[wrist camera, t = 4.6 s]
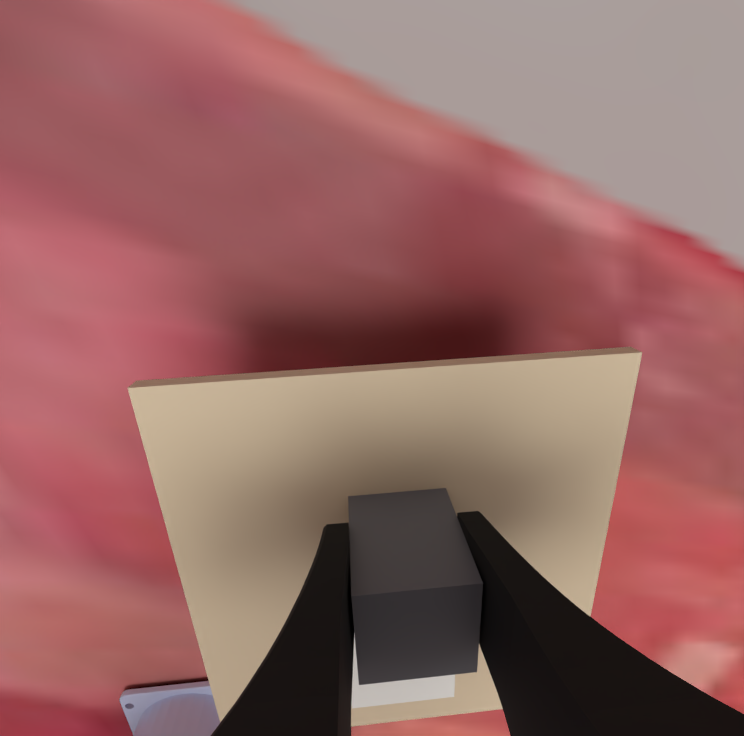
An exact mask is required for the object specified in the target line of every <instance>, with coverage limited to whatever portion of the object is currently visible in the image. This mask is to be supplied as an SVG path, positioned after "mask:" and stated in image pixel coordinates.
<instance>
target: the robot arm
mask: <svg viewBox="0 0 744 736" xmlns="http://www.w3.org/2000/svg"><path fill="white" fill-rule="evenodd" d="M457 518H458V520H459V523H460V526H461V528H462V531H463V533H464V536H465V538H466V541H467V544H468V546H469V549H470V551H471V554H472V556H473V559H474V561H475V564H476V567H477V569H478V572H479V574H480V577H481V579H482V582H483V591H482V606H481V621H480V636H479V645H480V647H481V650H482V653H483V655H484V658H485V661H486V663H487V666H488V669H489V671H490V674H491V677H492V679H493V682H494V685H495V687H496V690H497V693H498V696H499V699H500V702H501V705H502V708H503V711H504V714H505V717H506V721H507V724H508V728H509V731H510V735H511V736H744V714H742V713H740V712H739V711H737V710H735V709H733V708H731V707H729V706H728V705H726V704H724V703H722V702H720V701H718V700H716V699H715V698H713V697H711V696H709V695H708V694H706V693H704V692H702V691H701V690H699V689H697V688H696V687H694V686H692V685H691V684H689V683H687V682H686V681H684V680H682V679H681V678H679V677H677V676H676V675H674V674H672V673H671V672H669V671H668V670H666V669H664V668H663V667H661V666H660V665H658V664H657V663H655V662H654V661H652V660H650V659H649V658H647V657H646V656H645V655H643V654H642V653H640V652H639V651H637V650H636V649H634V648H633V647H631V646H630V645H628V644H627V643H625V642H624V641H622V640H621V639H620V638H618V637H617V636H615V635H614V634H613V633H611V632H610V631H608V630H607V629H606V628H604V627H603V626H602V625H600V624H599V623H598V622H596V621H595V620H594V619H593V618H591V617H590V616H589V615H587V614H586V613H585V612H584V611H582V610H581V609H580V608H579V607H577V606H576V605H575V604H574V603H572V602H571V601H570V600H569V599H568V598H567V597H565V596H564V595H563V594H562V593H561V592H560V591H559V590H557V589H556V588H555V587H554V586H553V585H552V584H551V583H550V582H548V581H547V580H546V579H545V578H544V577H543V576H542V575H541V574H540V573H539V572H538V571H537V570H536V569H535V568H534V567H533V566H531V565H530V564H529V563H528V562H527V561H526V560H525V559H524V558H523V557H522V556H521V555H520V554H519V553H518V552H517V551H516V550H515V549H514V548H513V547H512V546H511V545H510V544H509V542H508V541H507V540H506V539H505V538H504V537H503V536H502V535H501V534H500V533H499V532H498V531H497V530H496V529H495V528H494V527H493V525H492V524H491V523H490V522H489V521H488V520H487V519H486V518H485V517H484V516H483V514H482V513H480V512H479V511H471V512H460V513H457ZM353 653H354V621H353V609H352V598H351V570H350V540H349V522H348V523H336V524H327V525H326V526H325V527H324V528H323V532H322V536H321V539H320V543H319V546H318V549H317V552H316V555H315V558H314V560H313V563H312V566H311V568H310V570H309V573H308V575H307V577H306V580H305V582H304V585H303V587H302V589H301V591H300V594H299V596H298V598H297V600H296V602H295V604H294V606H293V608H292V610H291V612H290V614H289V616H288V618H287V620H286V622H285V624H284V625H283V627H282V629H281V631H280V633H279V635H278V636H277V638H276V640H275V642H274V643H273V645H272V647H271V648H270V650H269V652H268V653H267V655H266V657H265V658H264V660H263V662H262V663H261V665H260V666H259V668H258V669H257V671H256V672H255V674H254V675H253V677H252V679H251V680H250V682H249V683H248V685H247V686H246V688H245V689H244V691H243V692H242V694H241V695H240V696H239V698H238V699H237V701H236V702H235V704H234V705H233V706H232V708H231V709H230V710H229V712H228V713H227V714H226V716H225V717H224V718H223V720H222V721H221V722H220V720H219V716H218V713H217V709H216V705H215V702H214V698H213V695H212V691H211V687H210V684H209V681H202V682H193V683H183V684H174V685H165V686H156V687H147V688H137V689H128V690H125V691H124V692H123V693H122V694H121V697H120V699H119V700H120V703H121V706H122V708H123V711H124V713H125V716H126V718H127V721H128V723H129V726H130V728H131V731H132V733H133V736H351V701H352V677H353Z"/></svg>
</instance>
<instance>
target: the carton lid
mask: <svg viewBox="0 0 744 736" xmlns="http://www.w3.org/2000/svg"><path fill="white" fill-rule="evenodd" d="M641 356H642V352H640V351H638V350H636V349H634V348H632V347H622V348H607V349H593V350H578V351H564V352H549V353H535V354H520V355H505V356H491V357H476V358H462V359H447V360H432V361H418V362H403V363H389V364H374V365H359V366H345V367H330V368H316V369H301V370H287V371H272V372H257V373H243V374H228V375H214V376H199V377H184V378H170V379H155V380H141V381H135V382H134V383H133V384H132V385H131V386H129V387H128V391H129V395H130V399H131V402H132V406H133V409H134V413H135V417H136V420H137V424H138V427H139V431H140V435H141V438H142V442H143V445H144V449H145V453H146V456H147V460H148V464H149V467H150V471H151V474H152V478H153V482H154V485H155V489H156V492H157V496H158V500H159V503H160V507H161V510H162V514H163V518H164V521H165V525H166V529H167V532H168V536H169V539H170V543H171V547H172V550H173V554H174V557H175V561H176V565H177V568H178V572H179V575H180V579H181V583H182V586H183V590H184V594H185V597H186V601H187V604H188V608H189V612H190V615H191V619H192V622H193V626H194V630H195V633H196V637H197V640H198V644H199V648H200V651H201V655H202V659H203V662H204V666H205V669H206V673H207V677H208V680H209V684H210V687H211V691H212V695H213V698H214V702H215V705H216V709H217V713H218V716H219V720H220V722H221V721H222V720H223V718H224V717H225V716H226V714H227V713H228V712H229V710H230V709H231V708H232V706H233V705H234V704H235V702H236V701H237V699H238V698H239V696H240V695H241V694H242V692H243V691H244V689H245V688H246V686H247V685H248V683H249V682H250V680H251V679H252V677H253V675H254V674H255V672H256V671H257V669H258V668H259V666H260V665H261V663H262V662H263V660H264V658H265V657H266V655H267V653H268V652H269V650H270V648H271V647H272V645H273V643H274V642H275V640H276V638H277V636H278V635H279V633H280V631H281V629H282V627H283V625H284V624H285V622H286V620H287V618H288V616H289V614H290V612H291V610H292V608H293V606H294V604H295V602H296V600H297V598H298V596H299V594H300V591H301V589H302V587H303V585H304V582H305V580H306V577H307V575H308V573H309V570H310V568H311V566H312V563H313V560H314V558H315V555H316V552H317V549H318V546H319V543H320V539H321V536H322V532H323V528H324V527H325V526H326V525H327V524H336V523H348V522H349V540H350V570H351V598H352V609H353V621H354V653H353V677H352V701H351V727H352V726H360V725H369V724H378V723H386V722H395V721H403V720H412V719H420V718H429V717H438V716H446V715H455V714H463V713H472V712H481V711H489V710H498V709H503V708H502V705H501V702H500V699H499V696H498V693H497V690H496V687H495V685H494V682H493V679H492V677H491V674H490V671H489V669H488V666H487V663H486V661H485V658H484V655H483V653H482V650H481V647H480V645H479V636H480V621H481V606H482V591H483V582H482V579H481V577H480V574H479V572H478V569H477V567H476V564H475V561H474V559H473V556H472V554H471V551H470V549H469V546H468V544H467V541H466V538H465V536H464V533H463V531H462V528H461V526H460V523H459V520H458V518H457V513H460V512H471V511H479V512H480V513H482V514H483V516H484V517H485V518H486V519H487V520H488V521H489V522H490V523H491V524H492V525H493V527H494V528H495V529H496V530H497V531H498V532H499V533H500V534H501V535H502V536H503V537H504V538H505V539H506V540H507V541H508V542H509V544H510V545H511V546H512V547H513V548H514V549H515V550H516V551H517V552H518V553H519V554H520V555H521V556H522V557H523V558H524V559H525V560H526V561H527V562H528V563H529V564H530V565H531V566H533V567H534V568H535V569H536V570H537V571H538V572H539V573H540V574H541V575H542V576H543V577H544V578H545V579H546V580H547V581H548V582H550V583H551V584H552V585H553V586H554V587H555V588H556V589H557V590H559V591H560V592H561V593H562V594H563V595H564V596H565V597H567V598H568V599H569V600H570V601H571V602H572V603H574V604H575V605H576V606H577V607H579V608H580V609H581V610H582V611H584V612H585V613H586V614H587V615H589V616H591V611H592V605H593V600H594V595H595V590H596V585H597V580H598V575H599V570H600V565H601V560H602V555H603V549H604V544H605V539H606V534H607V529H608V524H609V519H610V514H611V509H612V504H613V499H614V494H615V488H616V483H617V478H618V473H619V468H620V463H621V458H622V453H623V448H624V443H625V438H626V432H627V427H628V422H629V417H630V412H631V407H632V402H633V397H634V392H635V387H636V382H637V376H638V371H639V366H640V361H641Z"/></svg>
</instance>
